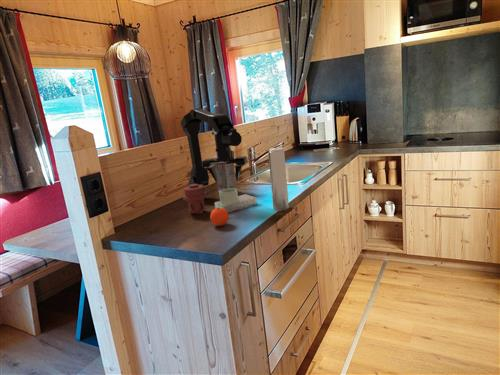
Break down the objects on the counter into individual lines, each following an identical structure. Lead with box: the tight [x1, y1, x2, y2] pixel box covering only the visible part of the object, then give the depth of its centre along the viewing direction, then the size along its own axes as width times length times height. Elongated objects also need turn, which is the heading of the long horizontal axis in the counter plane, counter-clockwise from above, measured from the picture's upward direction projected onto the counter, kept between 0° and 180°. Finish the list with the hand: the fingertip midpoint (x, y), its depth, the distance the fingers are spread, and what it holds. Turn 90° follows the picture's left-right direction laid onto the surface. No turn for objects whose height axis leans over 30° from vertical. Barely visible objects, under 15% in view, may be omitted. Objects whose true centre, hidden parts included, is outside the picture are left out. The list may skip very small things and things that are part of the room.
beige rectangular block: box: [214, 193, 258, 213], centre depth 157 cm, size 9×16×6 cm, turn 123°
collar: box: [218, 188, 239, 204], centre depth 155 cm, size 8×8×5 cm
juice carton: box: [213, 154, 238, 192], centre depth 181 cm, size 7×7×22 cm
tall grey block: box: [267, 147, 290, 212], centre depth 146 cm, size 6×6×25 cm
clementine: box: [209, 207, 229, 227], centre depth 136 cm, size 8×7×7 cm
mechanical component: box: [182, 184, 208, 215], centre depth 154 cm, size 12×10×10 cm
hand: (227, 181), depth 154 cm, fingers open, 9 cm apart
